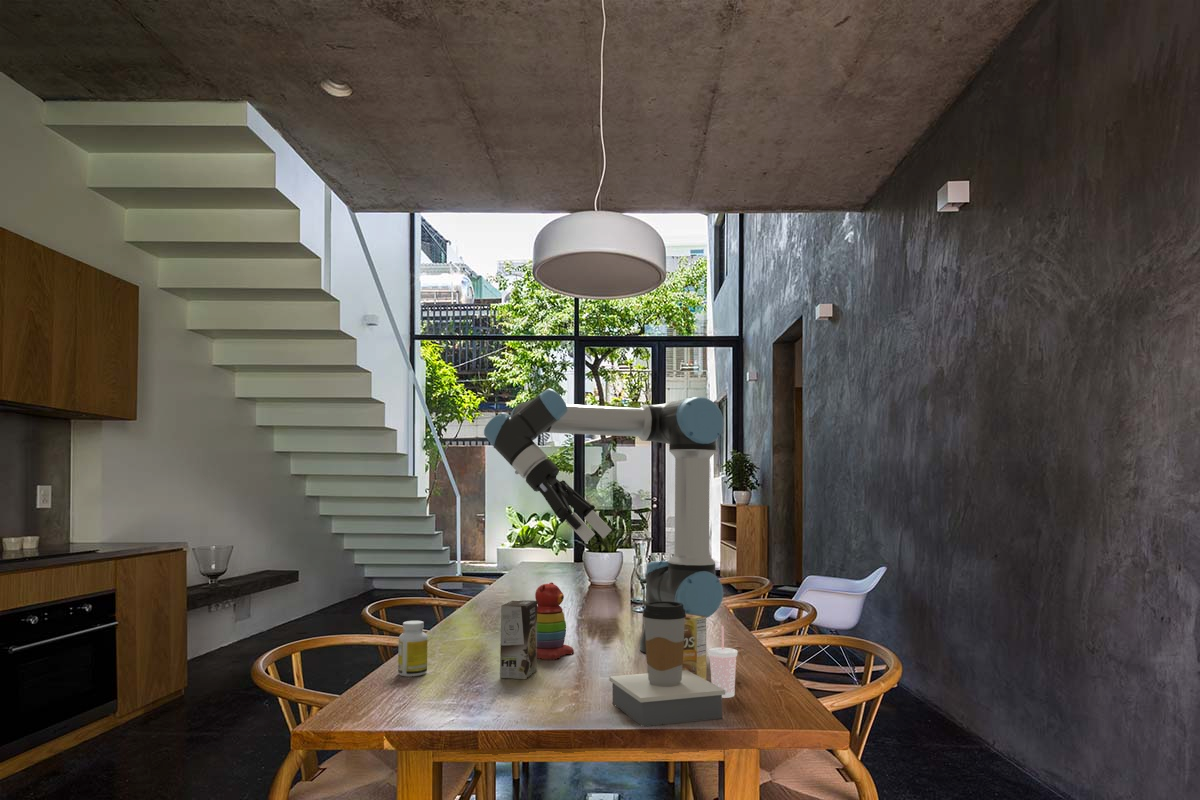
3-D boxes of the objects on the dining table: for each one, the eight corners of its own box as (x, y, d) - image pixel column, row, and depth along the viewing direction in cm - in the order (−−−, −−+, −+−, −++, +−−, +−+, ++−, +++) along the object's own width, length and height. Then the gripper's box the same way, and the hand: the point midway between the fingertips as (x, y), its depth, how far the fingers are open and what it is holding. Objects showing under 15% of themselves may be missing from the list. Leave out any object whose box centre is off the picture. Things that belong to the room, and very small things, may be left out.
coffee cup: (690, 679, 162) (690, 602, 164) (680, 690, 154) (680, 608, 156) (650, 676, 165) (649, 600, 166) (638, 686, 157) (637, 606, 159)
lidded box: (687, 695, 170) (686, 670, 170) (725, 718, 154) (725, 690, 154) (609, 703, 165) (609, 676, 165) (640, 727, 149) (640, 697, 149)
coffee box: (526, 679, 184) (527, 605, 185) (499, 678, 185) (499, 605, 186) (537, 670, 192) (538, 600, 194) (511, 669, 194) (512, 599, 195)
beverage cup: (719, 700, 167) (719, 629, 168) (702, 693, 172) (702, 624, 174) (744, 696, 170) (743, 627, 171) (726, 689, 175) (725, 622, 176)
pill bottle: (432, 674, 189) (433, 622, 190) (408, 679, 184) (409, 625, 185) (416, 669, 193) (417, 618, 194) (392, 674, 189) (393, 622, 190)
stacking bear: (553, 661, 202) (554, 587, 204) (520, 656, 207) (520, 584, 209) (576, 652, 212) (577, 582, 213) (544, 648, 217) (544, 579, 218)
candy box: (662, 686, 178) (661, 613, 180) (673, 682, 181) (673, 611, 183) (696, 693, 172) (696, 618, 174) (707, 689, 176) (707, 615, 177)
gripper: (544, 480, 202) (603, 543, 196) (504, 480, 178) (570, 553, 172) (564, 458, 201) (624, 521, 195) (527, 456, 177) (594, 528, 171)
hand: (599, 536), depth 184 cm, fingers open, 13 cm apart
